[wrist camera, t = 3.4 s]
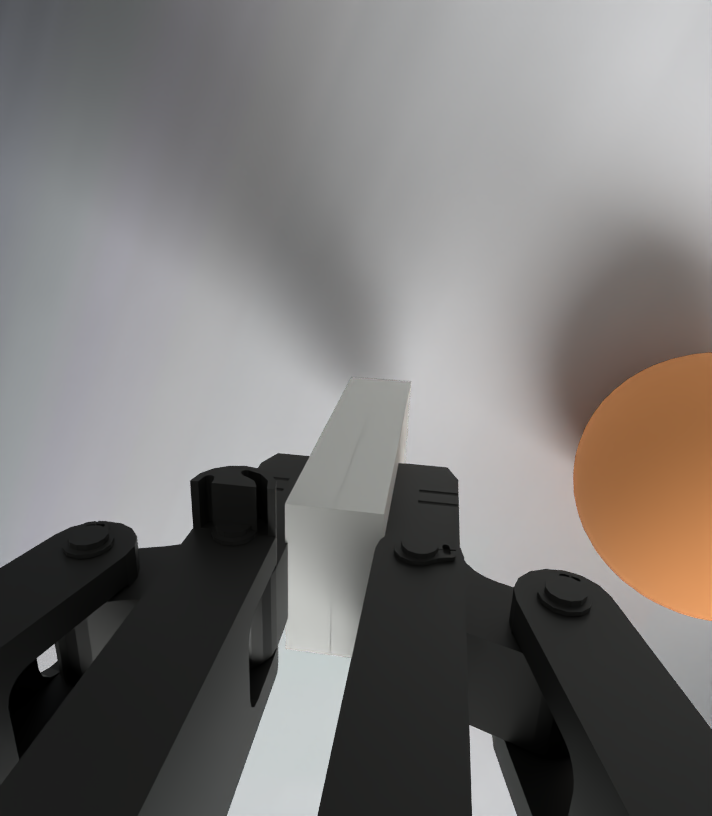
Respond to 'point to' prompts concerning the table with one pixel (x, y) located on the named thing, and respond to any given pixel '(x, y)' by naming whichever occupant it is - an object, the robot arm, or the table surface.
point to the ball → (653, 483)
